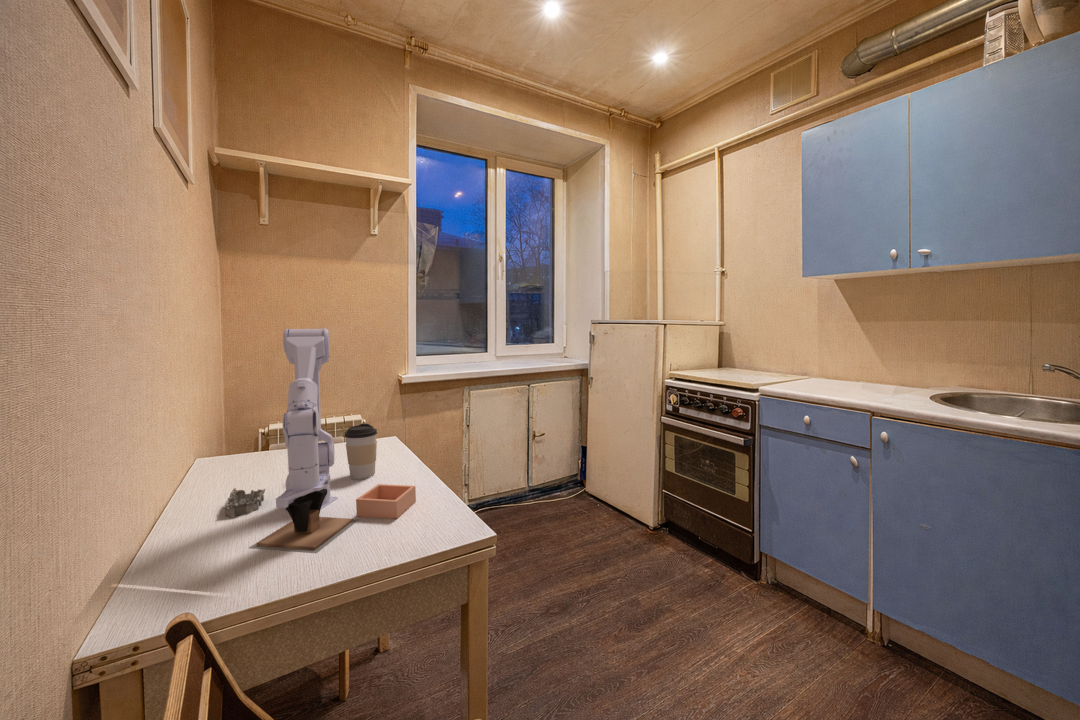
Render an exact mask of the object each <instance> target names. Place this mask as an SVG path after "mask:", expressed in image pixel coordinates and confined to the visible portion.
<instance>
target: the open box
mask: <svg viewBox="0 0 1080 720" xmlns="http://www.w3.org/2000/svg"><path fill="white" fill-rule="evenodd" d="M416 493H417V492H416V485H406V484H405V485H403V484H385V483H384V484H383V483H380V484H379V483H377V484H376V485H375V486H373V487H372V488H370V489H369V490H367V491H365V492H364V493H363V494H362V495H360V496H359V497H357V498H356V499H355V505H356V518H357V517H358V518H370V519H371V518H372V519H374V518H375V519H388V520H398V519H399V518H400V517H402V515H404V514H405V513H406V512H407V511H408V510H409V509H410V508H411V507H412V506H413V505H414V504H416V502H417V500H416V499H417V496H416V495H417V494H416Z"/></svg>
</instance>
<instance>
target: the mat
mask: <svg viewBox="0 0 1080 720" xmlns="http://www.w3.org/2000/svg"><path fill="white" fill-rule="evenodd" d="M352 519H353V521H352V522H351V523H350V524H349V525H347V526H346V527H345V528H343V529H342V530H341V531H339V532H338V533H337V534H336V535H334V536H333V537H332V538H330V539H329V540H328V541H326V542H325V543H324V544H323V545H321V546H320V547H319V548H317V549H316V550H307V549H294V548H280V547H266V546H257V542H256V543H254V544H252V545H251V546H249V547H248V549H253V550H254V549H255V550H266V551H267V550H270V551H282V552H284V551H285V552H296V553H309V554H317V553H319V552H321V551H322V550H323V549H324V548H326V546H328V545H329V544H330V543H332V542H334V540H336V539H337V538H338V537H339V536H341V535H342V534H343V533H344V532H346V531H347V530H349V529H350V528H351V527H352V526H353V525H354V524H355V525H356V523H357V522H358V521H359V519H355V518H352ZM277 530H278V529H276V530H275V531H277ZM269 535H270V534H268V535H267V536H269Z"/></svg>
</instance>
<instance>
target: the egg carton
mask: <svg viewBox="0 0 1080 720" xmlns="http://www.w3.org/2000/svg"><path fill="white" fill-rule="evenodd" d="M265 493H266V488H263V489H257V490H254V489H252V490H250V492H249V493H246V491H245V490H244V489H236V488H235V487H234V488H233V489H232V490H231V492H230V494H229V497H227V500H226V501H225V502H224V505H223V506H224V507H223V510H225V516H226V515H228V516H227V517H230V518H234V517H233V516H235V517H236V516H239V515H243V514H242V513H245V514H251V513H253V512H255V511H259V510H260V507H261V506H262V502H264V501H265ZM238 514H239V515H238Z"/></svg>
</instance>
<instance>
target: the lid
mask: <svg viewBox="0 0 1080 720" xmlns="http://www.w3.org/2000/svg"><path fill="white" fill-rule="evenodd" d="M353 519H354V518H349V517H348V518H345V517H330V516H329V517H328V516H320V514H319V510H313V509H309V515H308V529H307V531H306V532H297V531H296V528H295V526H294V523H293V520H291V521H289V522H288V523H286V524H285V525H283V526H281V527H280V528H278V529H276V530H277V531H276V530H275V531H273V532H272V533H270V534H268V535H269V536H268V535H266V536H265V537H264V538H262V539H260V540H259V541H258V542H256V543H257V546H266V547H280V548H294V549H307V550H316V549H317V548H319V547H320V546H321V545H323V544H324V543H325V542H326V541H328V540H329V539H330V538H332V537H333V536H334V535H336V534H337V533H338V532H339V531H341V530H342V529H343V528H345V527H346V526H347V525H349V524H350V523H351V522H352V521H353Z"/></svg>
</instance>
